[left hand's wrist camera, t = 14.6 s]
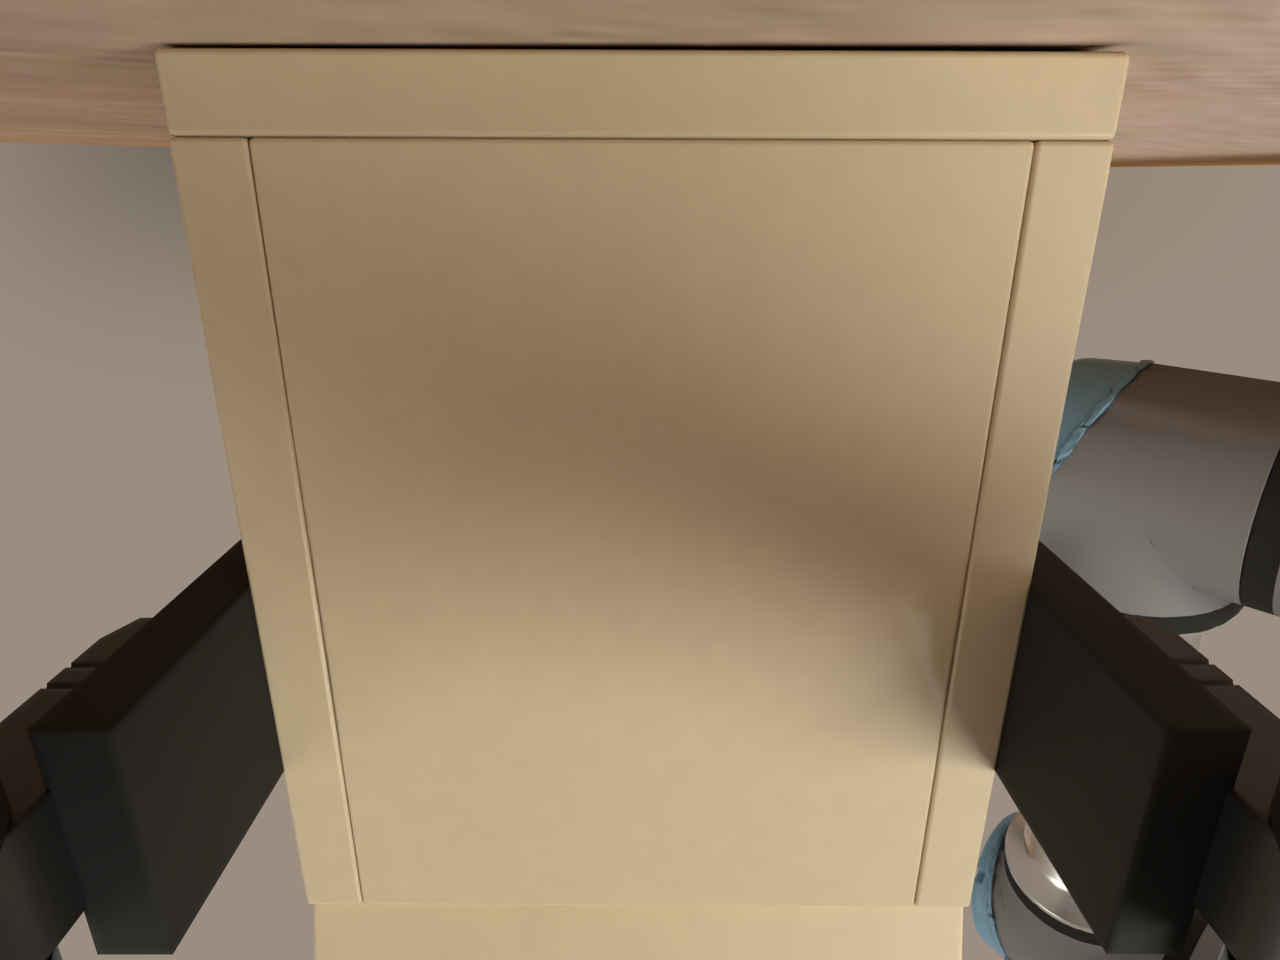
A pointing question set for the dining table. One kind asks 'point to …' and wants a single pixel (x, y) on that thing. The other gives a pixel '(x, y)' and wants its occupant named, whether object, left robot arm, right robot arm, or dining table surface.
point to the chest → (640, 449)
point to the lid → (635, 932)
